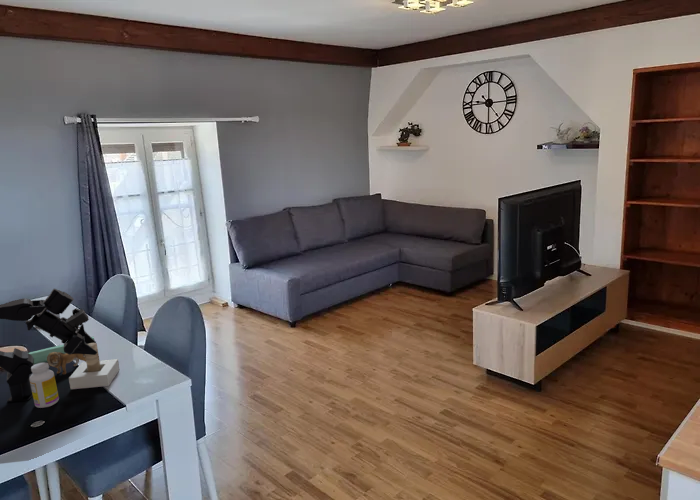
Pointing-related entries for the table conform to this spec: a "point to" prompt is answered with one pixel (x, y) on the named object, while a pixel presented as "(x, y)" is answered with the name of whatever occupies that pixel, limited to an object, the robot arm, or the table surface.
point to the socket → (94, 375)
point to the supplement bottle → (43, 385)
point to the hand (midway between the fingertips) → (95, 348)
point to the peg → (93, 360)
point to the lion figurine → (63, 360)
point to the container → (46, 353)
